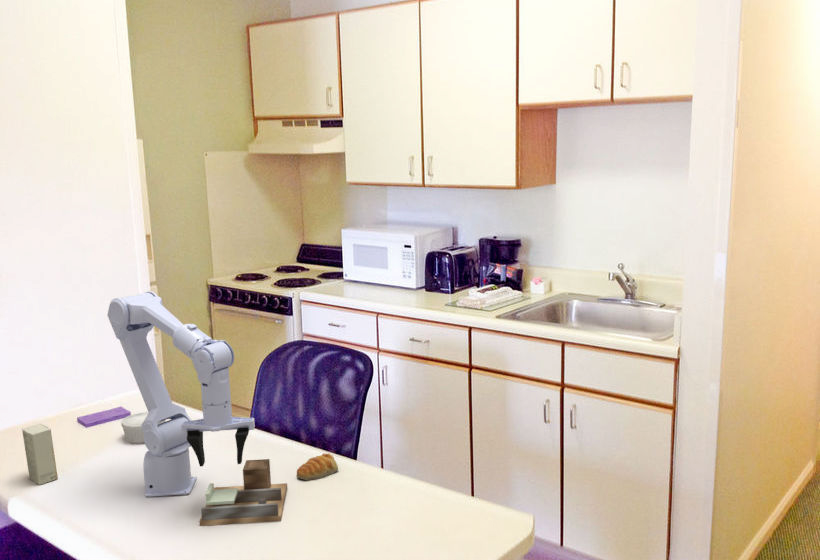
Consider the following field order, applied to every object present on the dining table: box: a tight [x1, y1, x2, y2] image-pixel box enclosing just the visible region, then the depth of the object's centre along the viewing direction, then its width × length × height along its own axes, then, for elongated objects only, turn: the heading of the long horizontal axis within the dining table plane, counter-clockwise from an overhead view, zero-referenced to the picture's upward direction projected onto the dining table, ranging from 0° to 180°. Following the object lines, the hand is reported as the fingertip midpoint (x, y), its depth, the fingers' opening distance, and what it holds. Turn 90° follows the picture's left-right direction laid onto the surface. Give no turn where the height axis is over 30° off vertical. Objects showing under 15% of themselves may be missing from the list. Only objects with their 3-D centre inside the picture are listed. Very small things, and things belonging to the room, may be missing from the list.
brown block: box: [242, 458, 272, 490], centre depth 161 cm, size 5×5×6 cm
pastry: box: [296, 452, 339, 481], centre depth 171 cm, size 9×7×4 cm
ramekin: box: [120, 411, 167, 445], centre depth 196 cm, size 11×11×5 cm
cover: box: [204, 482, 238, 506], centre depth 152 cm, size 6×6×2 cm
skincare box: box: [21, 423, 59, 486], centre depth 171 cm, size 6×4×12 cm
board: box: [198, 482, 288, 527], centre depth 156 cm, size 16×15×3 cm
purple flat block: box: [76, 406, 132, 429], centre depth 211 cm, size 7×13×2 cm, turn 132°
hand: (221, 463), depth 155 cm, fingers open, 7 cm apart
